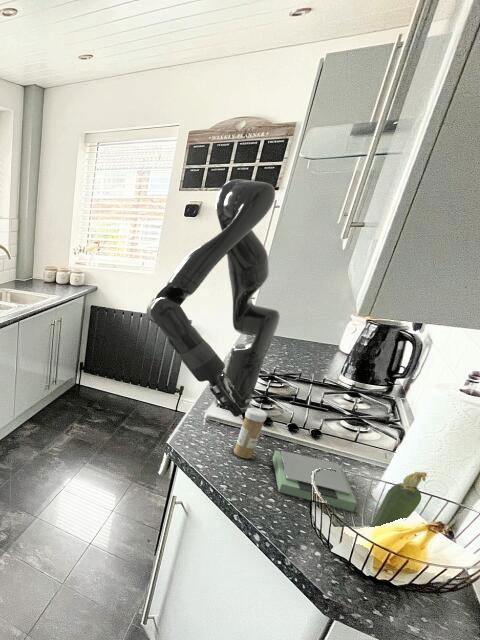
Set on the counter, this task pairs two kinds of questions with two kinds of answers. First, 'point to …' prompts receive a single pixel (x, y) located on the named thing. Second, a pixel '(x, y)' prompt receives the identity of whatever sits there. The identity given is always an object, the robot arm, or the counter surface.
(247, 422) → the sprinkles bottle
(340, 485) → the pan
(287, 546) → the counter surface
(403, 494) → the vegetable
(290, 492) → the scale
